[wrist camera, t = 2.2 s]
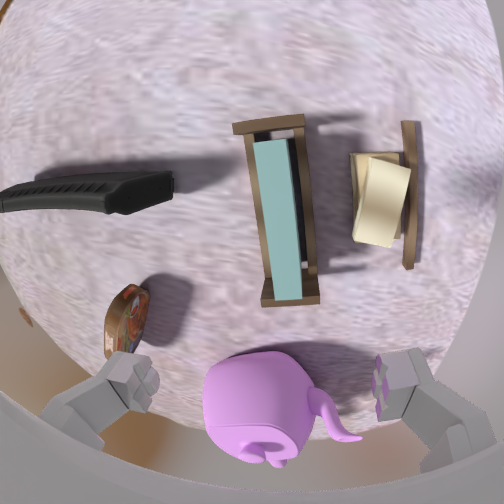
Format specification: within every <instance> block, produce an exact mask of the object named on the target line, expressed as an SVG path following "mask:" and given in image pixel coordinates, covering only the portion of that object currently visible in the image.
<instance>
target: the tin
mask: <svg viewBox="0 0 504 504" xmlns="http://www.w3.org/2000/svg"><path fill="white" fill-rule="evenodd" d="M149 300H150V294H149V292H148V291H147V290H144V289H142V288H140V287H139V286H137V285H135V284H129V285H128V286H127V287H126V288H124V289H123V290H122V291H121V292H120V293H119V294H118V295H117V296H116V297H115V298H114V300H113V301H112V303H111V305H110V306H109V309H108V311H107V314H106V317H105V324H104V354H105V357H106V358H107V359H109V358H110V357H111V355H112V354H113V353H114V352H116V351H120V352H127V353H134V352H135V350H136V348H137V346H138V344H139V342H140V340H141V337H142V334H143V330H144V325H145V319H146V314H147V310H148V305H149Z"/></svg>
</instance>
